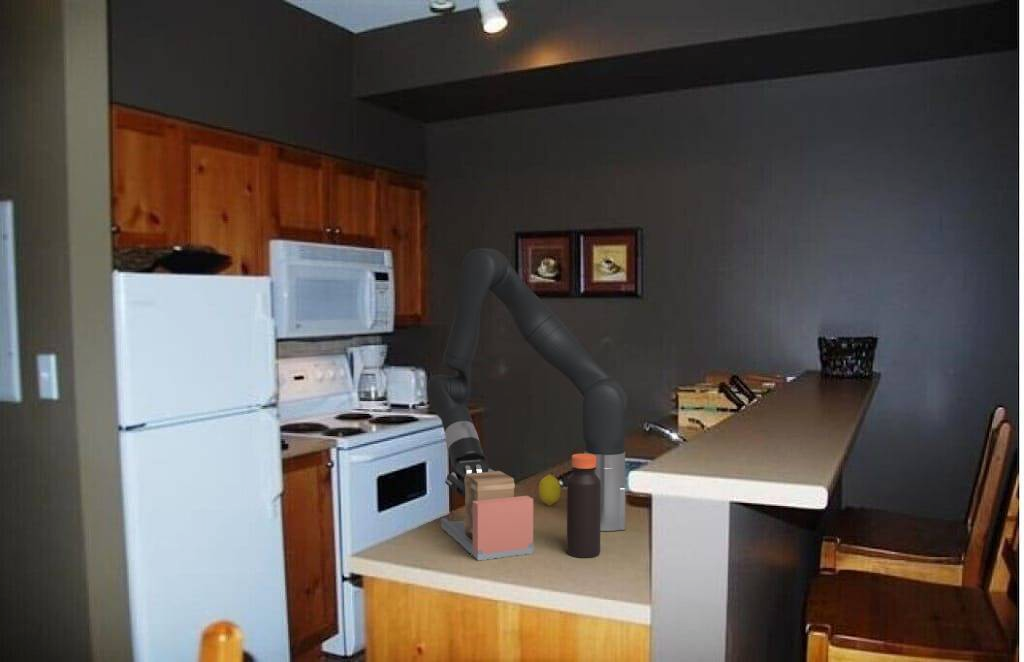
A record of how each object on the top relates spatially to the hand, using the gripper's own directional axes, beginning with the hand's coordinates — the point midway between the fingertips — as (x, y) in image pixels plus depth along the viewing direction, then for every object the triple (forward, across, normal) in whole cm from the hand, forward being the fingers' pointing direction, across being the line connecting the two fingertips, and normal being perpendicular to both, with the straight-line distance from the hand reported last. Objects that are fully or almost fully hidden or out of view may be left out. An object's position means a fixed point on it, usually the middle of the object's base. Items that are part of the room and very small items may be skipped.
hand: (482, 511), depth 168 cm
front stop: (+12, 0, -6) cm, 13 cm away
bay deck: (+5, 0, +3) cm, 6 cm away
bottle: (+17, +16, -8) cm, 24 cm away
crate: (+6, 0, 0) cm, 6 cm away
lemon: (-9, +25, +18) cm, 32 cm away
